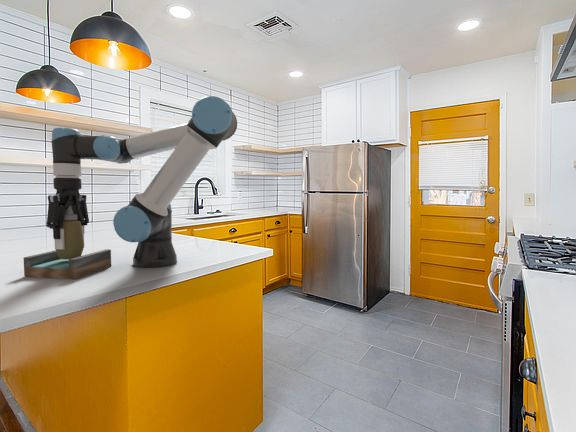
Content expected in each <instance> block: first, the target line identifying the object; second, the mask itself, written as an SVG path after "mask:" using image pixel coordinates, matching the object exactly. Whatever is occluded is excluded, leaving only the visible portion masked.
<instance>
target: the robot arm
mask: <svg viewBox="0 0 576 432" xmlns="http://www.w3.org/2000/svg"><path fill="white" fill-rule="evenodd" d="M237 128H238V120H237V116H236V114H235V113H234V112H233V109H232V107H231V105H230V104H228V103H227V102H226V101H225V100H224V99H222V98H221V97H219V96H216V95H206V96H203V97H202V98H200V99H198V100H197V101H196V102H195V104H194V105H193V106H192V110H191V117H190V119H189V121H188V122H186V123H183V124H180V125H176V126H175V125H174V126H171V127H167V128H163V129H158V130H156V131H151V132H148V133H144V134H140V135H135V136H132V137H128V138H123V139H119V140H117V138H116V137H114V136H109V135H104V134H103V135H82V134H80V131H79V130H78V129H75V128H70V127H55V128H53V129H52V130H51V142H50V143H51V149H52V167H53V168H52V169H53V172H52V173H53V176H54V178H53V179H52V180H53V182H52V183H53V189H54V190H56V192H55V194H54V195H52V194H51V195H48V196H47V201H48V209H47V216H46V227H47V228H49V229H50V230H52V235H53V236H52V238H53V240H54V250H56V249H62V250H63V249H65V246H64V229H61V228H62V224H63V221H64V217H65V214H66V210H67V209H68V208H69V206H71V207H72V211H73V214H76V215H77V221H79V222H81V227H82V234H83V240H84V241H85V226H88V224H89V222H90V218H89V211H88V206H87V195H85V194H80V190H81V189H82V179H81V177H82V165H81V163H82V162H81V161H82V160H99V161H105V162H111V163H116V164H120V165H121V164H122V165H123V164H128V163H130V162H132V160H135V159H139V158H144V157H147V156H151V155H156V154H159V153H163V152H168V151H171V150H173V151H172V153H171V154H170V156H169V157H168V158H167V160H166V161H165V162H164V163H163V165H162V166H161V168H160V169H159V170H158V171H157V173H156V175H155V176H154V178H153V179H152V180H151V181H150V183H149V184H148V185H147V187H146V188H145V190H144V191H143V192H141V193H140V192H139V193H136V194H135V195H134V196H133V198H132V199H131V200H130V202H129V203H128V204H127V205H126V206H123V207H121V208H120V209H118V210H117V212H116V213H114V216H113V221H112V222H113V228H114V231H115V232H116V233H115V234H117V236H118V237H119V238H120V239H121V240H122V241H125V242H128V243H137V245H136V249H135V251H134V254H133V258H132V265H133V266H135V267H139V268H159V267H166V266H171V265H174V264H176V263H178V257H177V253H176V250H175V247H174V245H173V241H172V240H173V239H172V238H173V236H172V235H173V234H172V232H173V231H172V227H173V226H172V225H173V224H172V218H173V217H172V212H173V211H172V204H171V203H172V202H173V200H174V198H175V197H176V196H177V194H178V193H179V192H180V190H181V189H182V188H183V186H184V185H185V184H186V183H187V181H188V180H189V178H190V177H191V175H193V173H194V171H195V170H196V169H197V168H198V166H199V164H200V163H201V162H202V161H203V159H204V158H205V156H206V155H207V154H208V152H209V151H210V150H215V149H217V148H218V147H219V146H220V144H222V142H223V141H226V140H228V139H230V138H232V137H233V136H234V135H235V133H236V132H237ZM57 224H58V225H57Z"/></svg>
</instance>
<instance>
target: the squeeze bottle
mask: <svg viewBox="0 0 576 432" xmlns="http://www.w3.org/2000/svg"><path fill="white" fill-rule="evenodd" d="M57 225H58V224H57ZM61 229H64V246H65V249H63V250H62V249H55V250H56V252H57V254H58V256H59V258H60V259H72V258H76V257H79V256H83V252H84V248H85V239H84V240H83V234H82V227H81V222H79V221H77V215H76V214H73V211H72V207H71V206H69V208H68V209H67V210H66V214H65V217H64V221H63V224H62V228H61Z"/></svg>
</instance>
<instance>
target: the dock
mask: <svg viewBox="0 0 576 432" xmlns="http://www.w3.org/2000/svg"><path fill="white" fill-rule="evenodd" d="M111 267H112V249H106V248H105V249H102V250H99V251H94V252H92V253H87V254H84V255H83V254H82V255H81V256H79V257H76V258H72V259H60V258H59V256H58V254H57V252H56V249H54V250H51V251H46V252H42V253H38V254H33V255H29V256H25V257H23V274H24V275H23V276H25V277H24V278H41V277H42V278H43V279H44V278H46V279H64V280H77V279H80V278H83V277H86V276H88V275H92V274H94V273H97V272H99V271H100V272H101V271H103V270H105V269H107V268H111Z"/></svg>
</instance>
